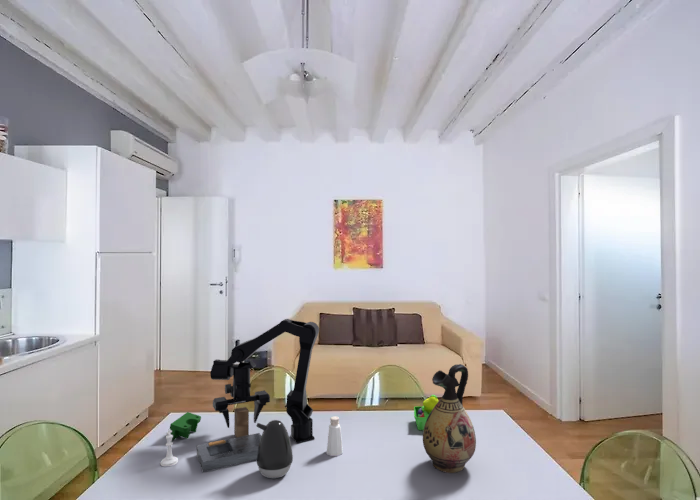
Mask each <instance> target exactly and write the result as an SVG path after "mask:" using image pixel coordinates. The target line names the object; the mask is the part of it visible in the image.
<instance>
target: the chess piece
mask: <svg viewBox="0 0 700 500" xmlns="http://www.w3.org/2000/svg"><path fill="white" fill-rule="evenodd" d="M171 432H172V430H171V429H170V428H169V429H168V431H167V432H166V436H165V439H166V443H165V446H166V447H167V449H166V456H165V457H164V458H162V459H161V461H160V466H161V467H165V468H167V467H172V466H175V465H177V464H178V463H179V458H178V457H177V456H174V455H173V451H172V446H173V445H174V442H172V441H173V440H172V438H173V435H171Z"/></svg>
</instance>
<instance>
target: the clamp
mask: <svg viewBox="0 0 700 500" xmlns="http://www.w3.org/2000/svg"><path fill="white" fill-rule="evenodd" d="M201 420H202V417H201V415H198V414H195V413H192V412H189V411H187V412H185V413H184V414H183V415H181V416H180V417H179V418H177V419H176V420H174V421H173V422H172V423H170V425H169V429H171V430H172V432H171V435H173V438H172V441H175V440H177V438H179V437H180V438H183V439H189V438H190V434H191V432H192V433H196V432H197V429H198V425H199V423H200V422H201Z"/></svg>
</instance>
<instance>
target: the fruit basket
mask: <svg viewBox="0 0 700 500" xmlns="http://www.w3.org/2000/svg"><path fill="white" fill-rule="evenodd" d="M438 402H439V399H438V396H437V395H435V394H431V395H430V396H429V397H428V398H426V399H425V400H423V402H422V406H421V405H419V406H416V405H415V406H414V407H413V416H414V419H415V423H416V426H417V427H416V428H417V430H418V431H424V426H425V423H426V420H427V418H428V416H429V414H430V413H431V411H432V410H433V408H434V407H435V405H436V404H437V403H438Z"/></svg>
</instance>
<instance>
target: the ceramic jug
mask: <svg viewBox="0 0 700 500" xmlns="http://www.w3.org/2000/svg"><path fill="white" fill-rule="evenodd" d="M468 370H469V369H468V367H466V366H465V365H464V364H461V363H459V364H454V365H451V367H450V368H449V370H448V373H445V372H444V371H442V370H440V369H439V370H438V371H435V373H434V374H433V376H432V378H431V379H432V380H431V381H432V384H433V385H434V386H438V387H441V388H443V389H444V393H443V394H442V396H441V397H440V399H438V403H437V404H436V405H435V407H434V408H433V410H432V411H431V413H430V414H429V416H428V418H427V420H426V423H425V426H424V430H422V431H423V432H422V443H423V444H422V445H423V447H424V451H425V454H426V455H428V456H427V457H429V458H430V461H431V463H432V467H433V468H434V469H435V470H439V471H441V472H442V473H448V474H454V473H460V472H461V471H463V469H464V468H465V466H466V464H467V462H469V461H470V460H471V459H472V457H473V456H474V454H475V452H476V448H477V438H476V432H475V428H474V427H475V426H474V425H473V422H472V419H471V418H470V416H469V414H468V413H467V411H466V408H465V407H464V406H463V404H464V403H463V399H464V394H465V389H466V386H467V384H468V380H469V371H468ZM458 372H459V373H460V372H461V375H460V380H459V381H458V379H457V377H456V374H457V373H458ZM456 388H457V390H456Z"/></svg>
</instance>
